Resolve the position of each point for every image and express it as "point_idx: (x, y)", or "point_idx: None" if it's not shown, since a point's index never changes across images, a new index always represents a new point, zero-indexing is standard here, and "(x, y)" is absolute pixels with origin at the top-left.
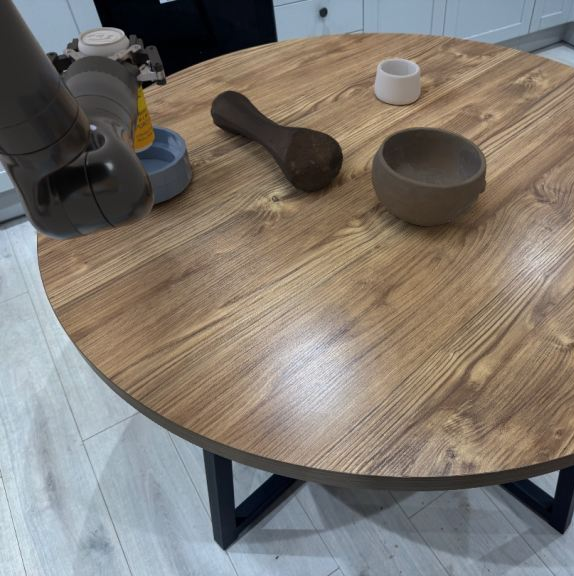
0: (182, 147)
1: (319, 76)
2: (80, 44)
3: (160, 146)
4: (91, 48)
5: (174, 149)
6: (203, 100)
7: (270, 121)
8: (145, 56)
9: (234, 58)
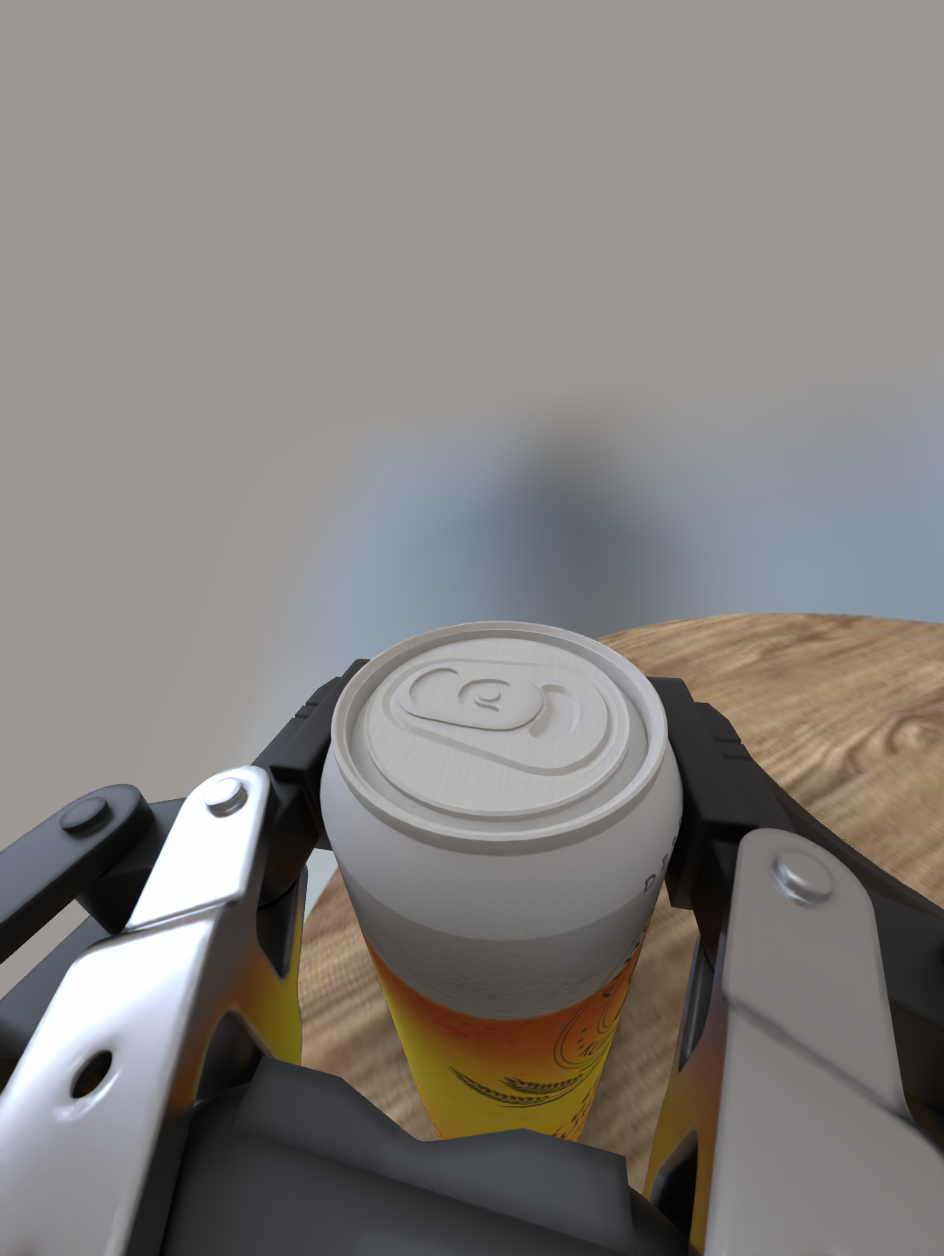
0: None
1: (812, 682)
2: (331, 748)
3: None
4: (377, 838)
5: None
6: None
7: (848, 849)
8: (941, 1051)
9: (648, 631)
